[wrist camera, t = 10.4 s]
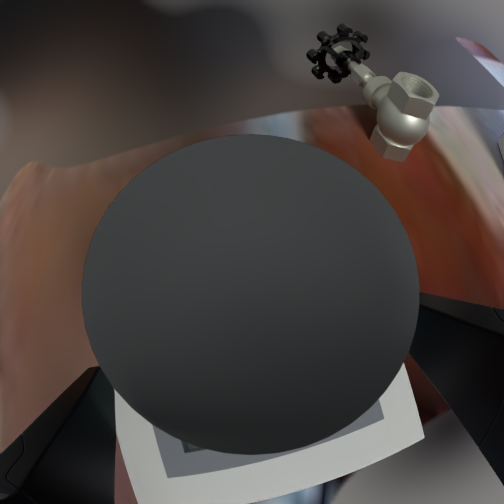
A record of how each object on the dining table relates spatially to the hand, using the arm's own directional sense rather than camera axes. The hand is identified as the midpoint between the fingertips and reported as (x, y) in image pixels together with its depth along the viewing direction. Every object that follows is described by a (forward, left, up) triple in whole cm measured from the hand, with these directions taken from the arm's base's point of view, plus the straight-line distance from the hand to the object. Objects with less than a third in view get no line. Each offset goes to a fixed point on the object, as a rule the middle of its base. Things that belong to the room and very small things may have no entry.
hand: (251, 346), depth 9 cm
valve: (+17, -15, -9) cm, 24 cm away
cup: (+1, 0, -7) cm, 7 cm away
